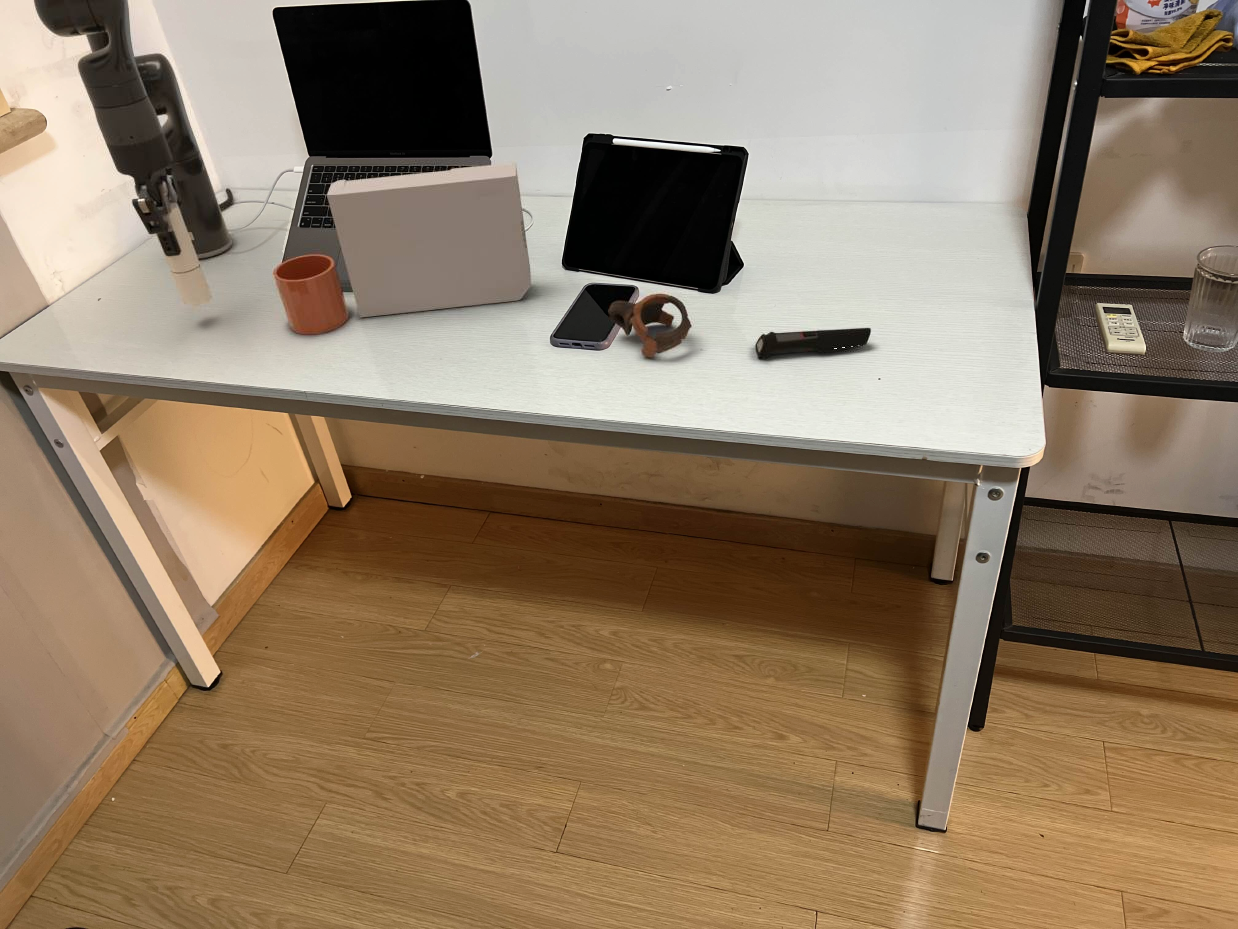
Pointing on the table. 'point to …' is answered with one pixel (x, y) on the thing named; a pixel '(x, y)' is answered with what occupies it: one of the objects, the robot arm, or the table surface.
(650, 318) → the brown ring bracket
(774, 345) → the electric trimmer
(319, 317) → the pen cup
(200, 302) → the tube
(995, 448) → the table surface
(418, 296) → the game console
